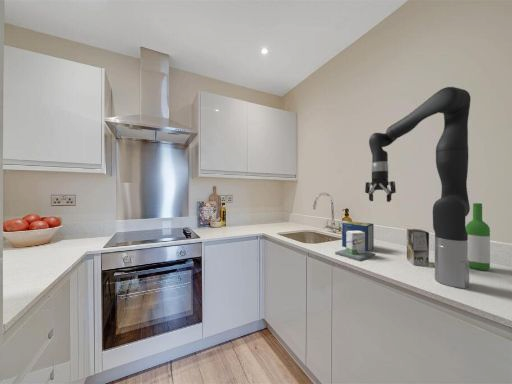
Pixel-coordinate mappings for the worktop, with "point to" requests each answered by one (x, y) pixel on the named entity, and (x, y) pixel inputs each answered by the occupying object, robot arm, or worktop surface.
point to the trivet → (355, 255)
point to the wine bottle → (478, 240)
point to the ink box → (355, 242)
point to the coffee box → (418, 247)
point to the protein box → (359, 226)
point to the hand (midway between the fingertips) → (379, 201)
